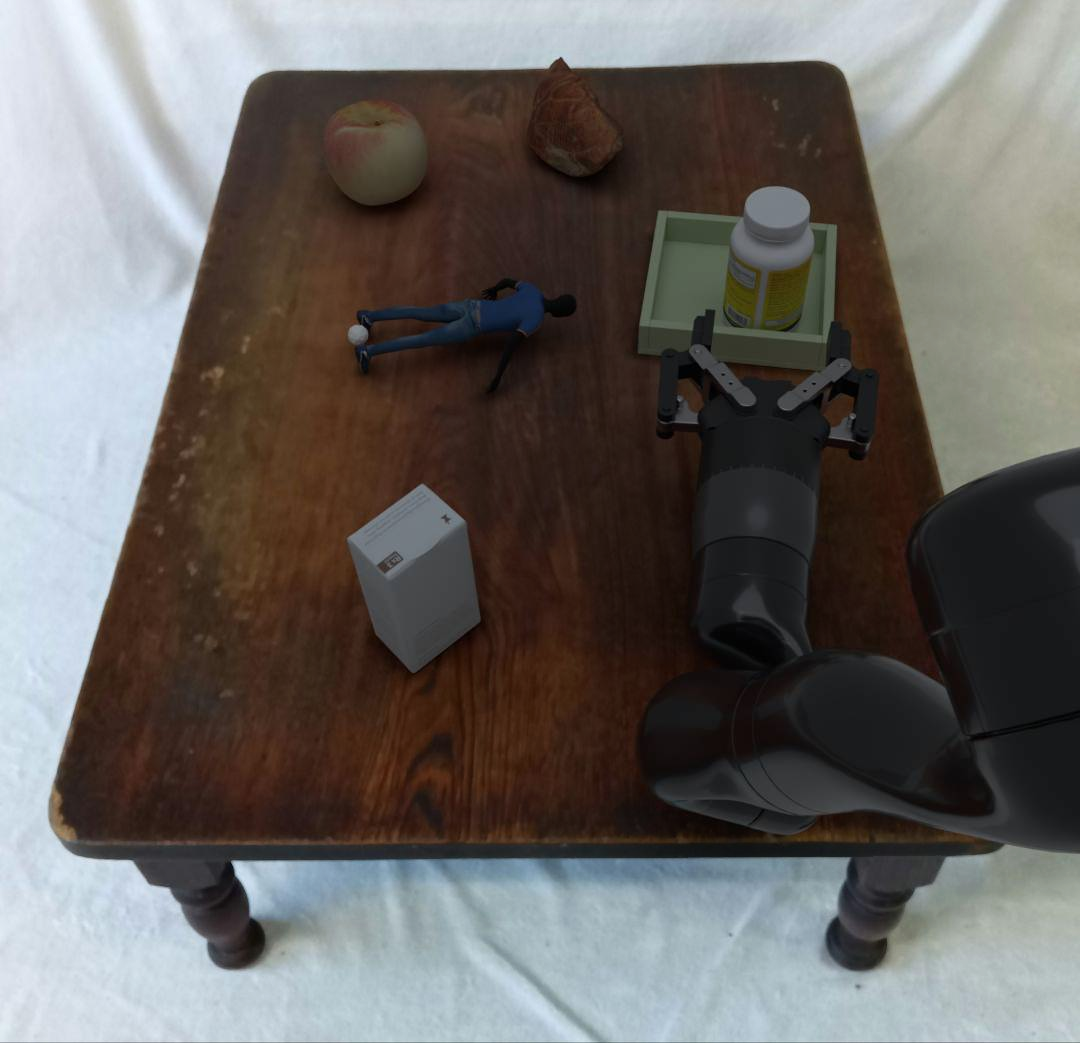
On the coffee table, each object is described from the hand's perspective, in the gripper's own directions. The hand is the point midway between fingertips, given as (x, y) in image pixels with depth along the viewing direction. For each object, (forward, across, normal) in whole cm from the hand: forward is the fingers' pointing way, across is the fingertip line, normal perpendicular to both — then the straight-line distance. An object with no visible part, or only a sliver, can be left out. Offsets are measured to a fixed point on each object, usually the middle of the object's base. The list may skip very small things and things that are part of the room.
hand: (771, 323), depth 82 cm
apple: (+21, +34, +9) cm, 41 cm away
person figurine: (+3, +23, +9) cm, 25 cm away
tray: (+11, +2, +9) cm, 15 cm away
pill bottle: (+9, 0, +9) cm, 13 cm away
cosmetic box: (-23, +20, +9) cm, 32 cm away
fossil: (+29, +18, +9) cm, 36 cm away
